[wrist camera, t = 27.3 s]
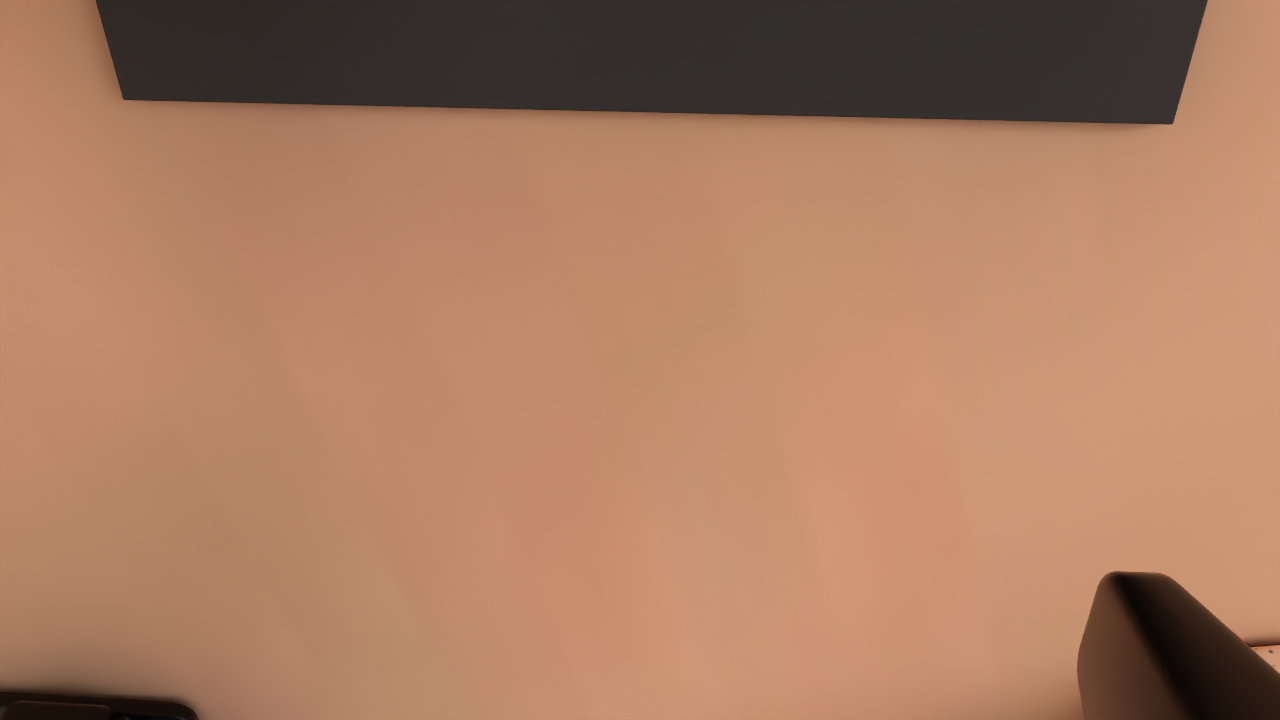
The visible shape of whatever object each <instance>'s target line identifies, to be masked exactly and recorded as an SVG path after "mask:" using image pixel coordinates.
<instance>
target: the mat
mask: <svg viewBox="0 0 1280 720" xmlns="http://www.w3.org/2000/svg"><path fill="white" fill-rule="evenodd" d="M1207 1H1208V0H96V3H97V6H98V10H99V14H100V17H101V21H102V24H103V28H104V31H105V35H106V39H107V42H108V46H109V49H110V53H111V57H112V60H113V64H114V67H115V71H116V74H117V78H118V82H119V85H120V89H121V92H122V96H123V99H124V100H151V101H194V102H236V103H279V104H322V105H365V106H408V107H450V108H493V109H536V110H579V111H621V112H664V113H707V114H750V115H792V116H835V117H878V118H921V119H964V120H1006V121H1049V122H1092V123H1135V124H1173V122H1174V118H1175V115H1176V111H1177V108H1178V104H1179V100H1180V97H1181V93H1182V90H1183V86H1184V83H1185V79H1186V76H1187V72H1188V68H1189V65H1190V61H1191V58H1192V54H1193V51H1194V47H1195V43H1196V40H1197V36H1198V33H1199V29H1200V26H1201V22H1202V18H1203V15H1204V11H1205V8H1206V4H1207Z"/></svg>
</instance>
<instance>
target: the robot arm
mask: <svg viewBox="0 0 1280 720" xmlns="http://www.w3.org/2000/svg"><path fill="white" fill-rule="evenodd" d="M1077 672H1078V683H1079V689H1080V695H1081V701H1082V706H1083V712H1084V718H1085V720H1280V673H1279V672H1278V671H1277V670H1275V669H1274V668H1273V667H1272V666H1271V665H1270V664H1269V663H1267V662H1266V661H1265V660H1264V659H1263V658H1262V657H1261V656H1260V655H1258V654H1257V653H1256V652H1255V651H1254V650H1253V649H1252V648H1251V647H1249V646H1248V645H1247V644H1246V643H1245V642H1244V641H1243V640H1242V639H1240V638H1239V637H1238V636H1237V635H1236V634H1235V633H1234V632H1232V631H1231V630H1230V629H1229V628H1228V627H1227V626H1226V625H1225V624H1223V623H1222V622H1221V621H1220V620H1219V619H1218V618H1217V617H1216V616H1214V615H1213V614H1212V613H1211V612H1210V611H1209V610H1208V609H1207V608H1205V607H1204V606H1203V605H1202V604H1201V603H1200V602H1199V601H1197V600H1196V599H1195V598H1194V597H1193V596H1192V595H1191V594H1190V593H1188V592H1187V591H1186V590H1185V589H1184V588H1183V587H1182V586H1181V585H1179V584H1178V583H1177V582H1176V581H1175V580H1173V579H1172V578H1170V577H1168V576H1166V575H1164V574H1160V573H1147V572H1121V571H1114V572H1111V573H1108V574H1106V575H1105V576H1104V577H1103V578H1102V580H1101V581H1100V583H1099V585H1098V588H1097V591H1096V594H1095V598H1094V601H1093V604H1092V608H1091V611H1090V614H1089V618H1088V621H1087V624H1086V628H1085V631H1084V634H1083V638H1082V641H1081V644H1080V648H1079V652H1078V663H1077ZM0 720H198V717H197V715H196V713H195V712H194V711H193V710H192V709H190V708H189V707H187V706H184V705H182V704H177V703H165V702H147V701H130V700H113V699H95V698H78V697H61V696H44V695H26V694H9V693H0Z"/></svg>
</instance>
